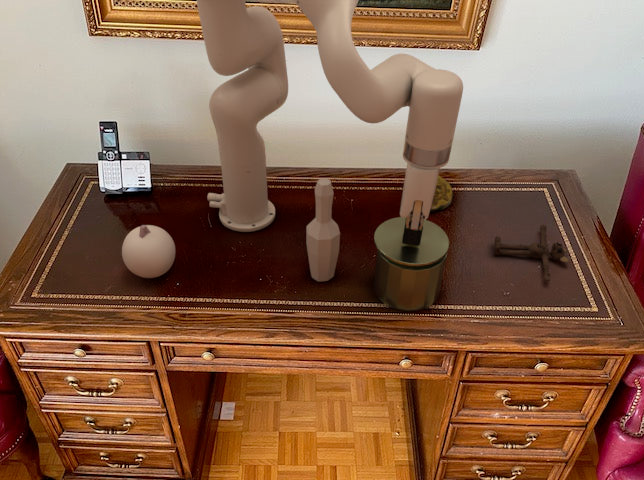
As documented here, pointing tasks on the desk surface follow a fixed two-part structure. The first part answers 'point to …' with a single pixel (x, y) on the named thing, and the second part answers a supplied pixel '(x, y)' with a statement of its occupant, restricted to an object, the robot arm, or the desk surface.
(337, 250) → the low poly bottle
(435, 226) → the lid
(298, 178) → the desk surface
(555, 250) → the brown thin branching figure
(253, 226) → the robot arm
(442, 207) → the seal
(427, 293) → the tin
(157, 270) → the ornament
